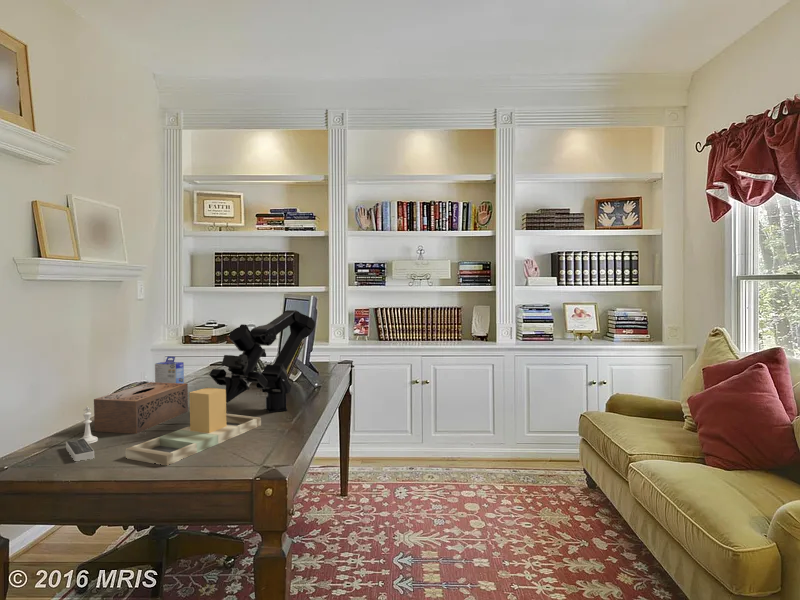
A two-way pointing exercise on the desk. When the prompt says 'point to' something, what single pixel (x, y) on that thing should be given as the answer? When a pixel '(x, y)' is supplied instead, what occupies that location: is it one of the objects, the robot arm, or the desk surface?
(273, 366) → the robot arm
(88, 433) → the chess piece
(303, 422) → the desk surface
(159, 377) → the ink cartridge box
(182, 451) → the trap board
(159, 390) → the tissue box cover
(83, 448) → the multiport hub
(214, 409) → the ochre block
